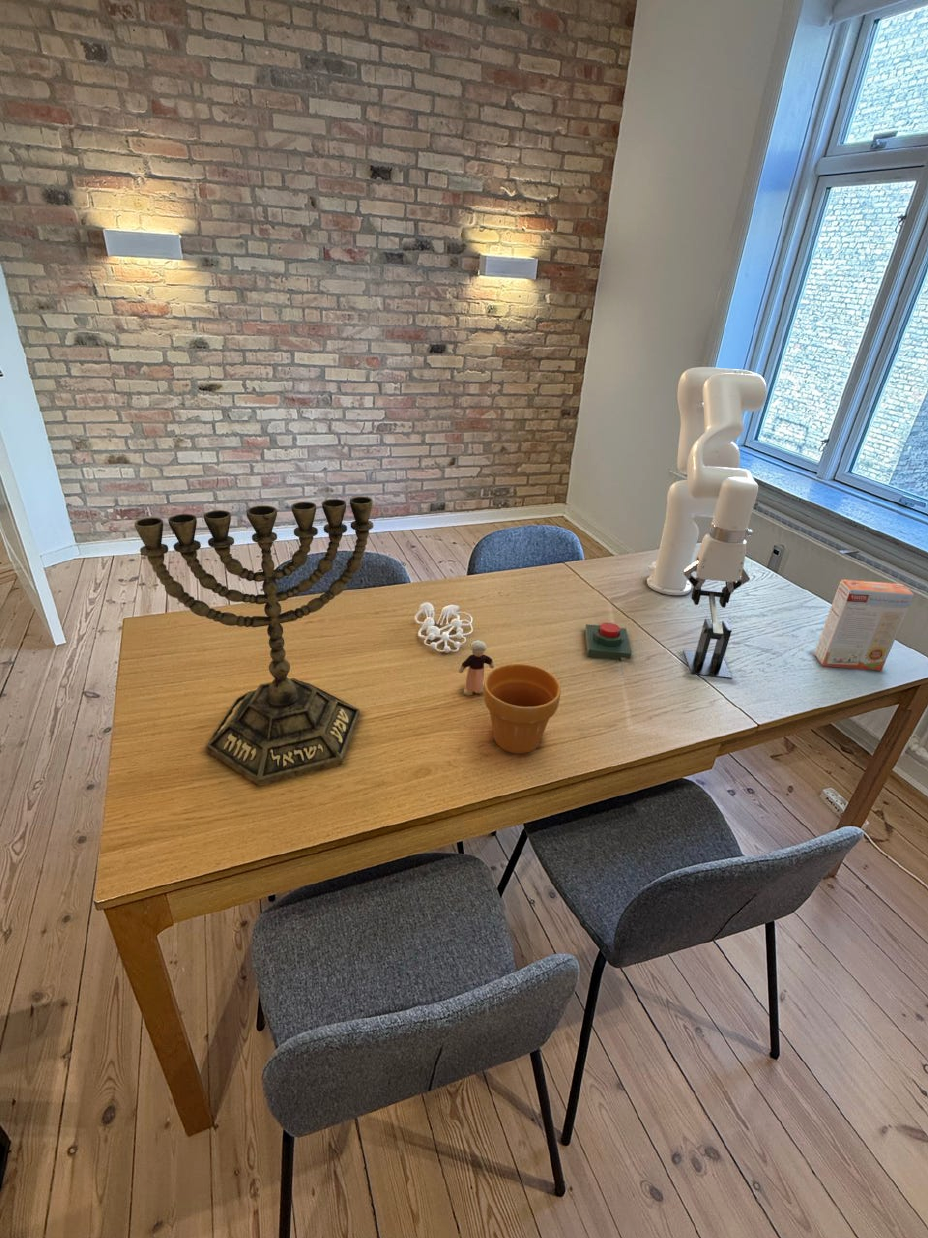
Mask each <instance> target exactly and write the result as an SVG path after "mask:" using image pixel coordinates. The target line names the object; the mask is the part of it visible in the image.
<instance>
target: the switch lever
mask: <svg viewBox="0 0 928 1238" xmlns="http://www.w3.org/2000/svg"><path fill="white" fill-rule="evenodd" d="M701 590H702V593H701V596H702V597H708V604H709V611H710V618H711V619H710V620H711V624H712V626H713V632H712V636H711V639H710V640H717V639H718V640H720V639H721V637H722V636H723V627H722V623H719V618H718V611H717V610H718V609H717V603H716V598H720V597H722V598H723V596H724V592H722V591H716V590H705V589H701ZM701 596H700V597H701Z"/></svg>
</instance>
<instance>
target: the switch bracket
mask: <svg viewBox="0 0 928 1238" xmlns="http://www.w3.org/2000/svg"><path fill="white" fill-rule="evenodd" d="M721 624H722V627H723V636H722V637H721V639H720V640H718V639H716V642H715V646H714V650H713V652H708V649H709V647H710V642H711V640H712V639H711V636H712V632H713V626H712V621H711V619H709V618H704V621H703V624H702V628H701V631H700V635H699V639H698V643H697V647H696V650H695V651H694V650H683V654H684V658H685V660H686V661H685V662H686V663H687V666H688V669H689V671H690V675H692V676H702V677H710V678H719V679H729V680H732V679H733V677H732V674H731V672H730V669H729V667H728V665H727V663H726V662H725V659H724V658H725V655H726V651H727V648H728V644H729V642H730V638H731V636H732V628H731V626H730V624H729V622H728V620H722V622H721Z"/></svg>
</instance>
